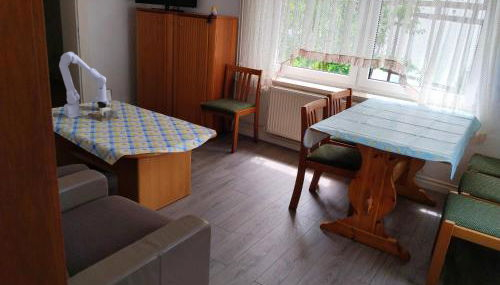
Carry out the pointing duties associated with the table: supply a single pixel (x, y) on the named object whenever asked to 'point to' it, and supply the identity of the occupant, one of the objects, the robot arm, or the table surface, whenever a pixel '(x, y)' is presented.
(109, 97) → the coffee box
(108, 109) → the white rectangular block
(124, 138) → the table surface
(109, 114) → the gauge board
